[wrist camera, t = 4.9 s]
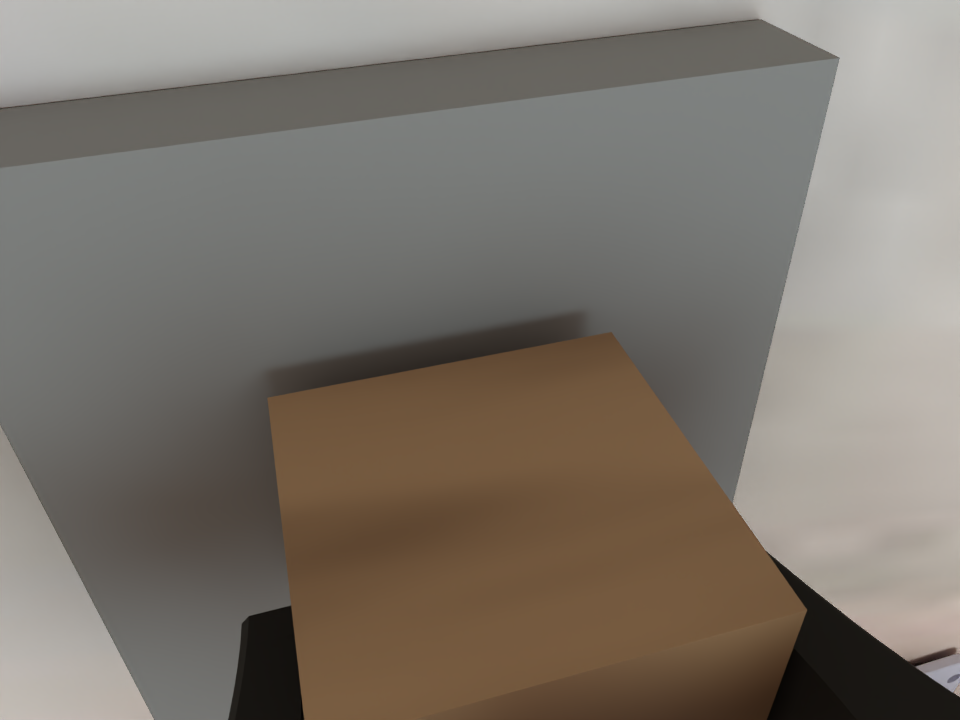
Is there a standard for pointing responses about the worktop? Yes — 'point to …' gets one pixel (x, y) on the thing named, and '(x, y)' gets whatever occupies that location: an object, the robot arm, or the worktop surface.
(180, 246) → the slate base
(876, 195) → the worktop surface
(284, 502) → the walnut cube
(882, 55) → the worktop surface
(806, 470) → the worktop surface
